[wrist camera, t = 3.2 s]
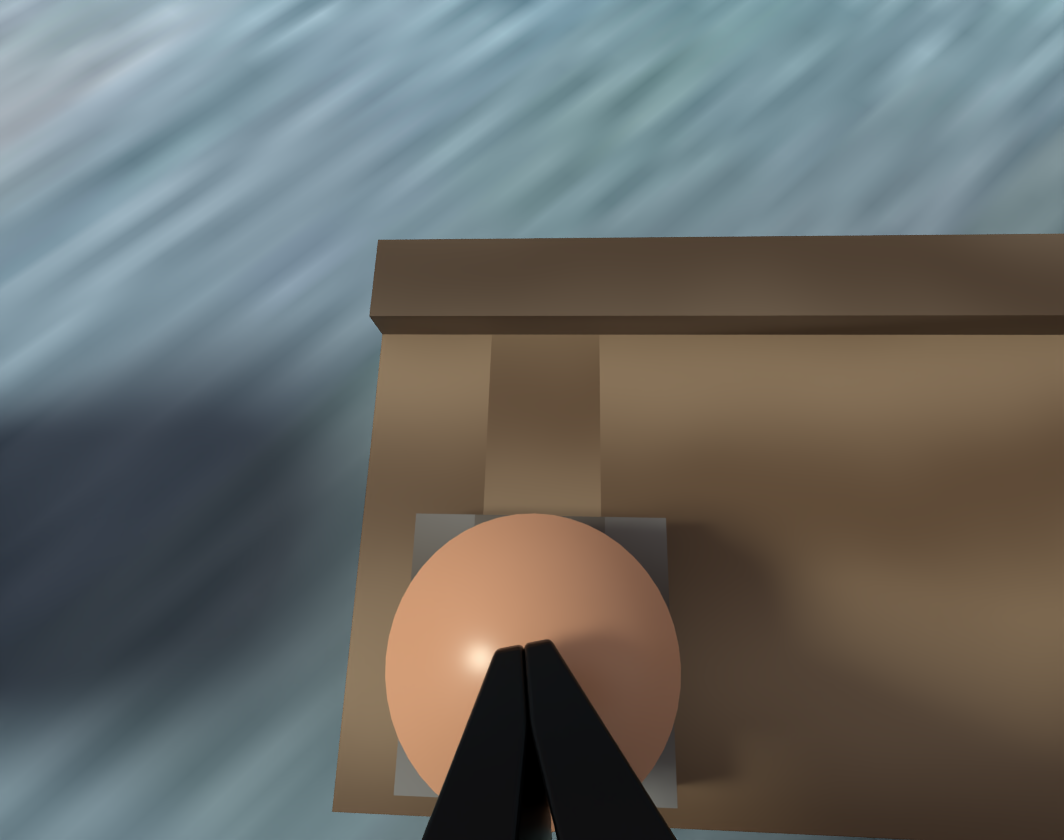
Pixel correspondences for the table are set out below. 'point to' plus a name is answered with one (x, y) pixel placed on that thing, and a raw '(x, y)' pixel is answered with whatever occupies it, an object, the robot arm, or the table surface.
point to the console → (755, 505)
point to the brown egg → (531, 635)
